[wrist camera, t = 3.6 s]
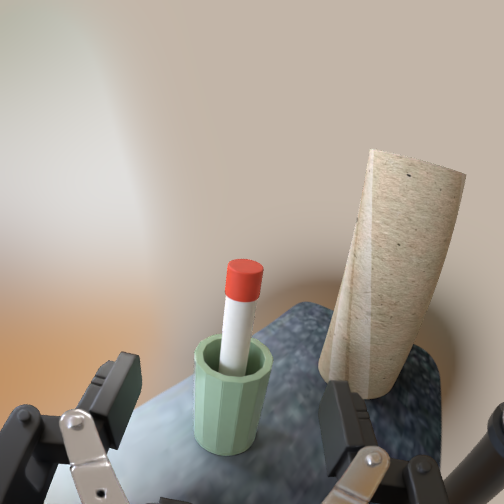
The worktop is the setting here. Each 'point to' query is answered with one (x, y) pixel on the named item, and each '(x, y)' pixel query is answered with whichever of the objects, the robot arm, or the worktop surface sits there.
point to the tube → (390, 270)
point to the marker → (239, 315)
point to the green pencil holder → (228, 398)
